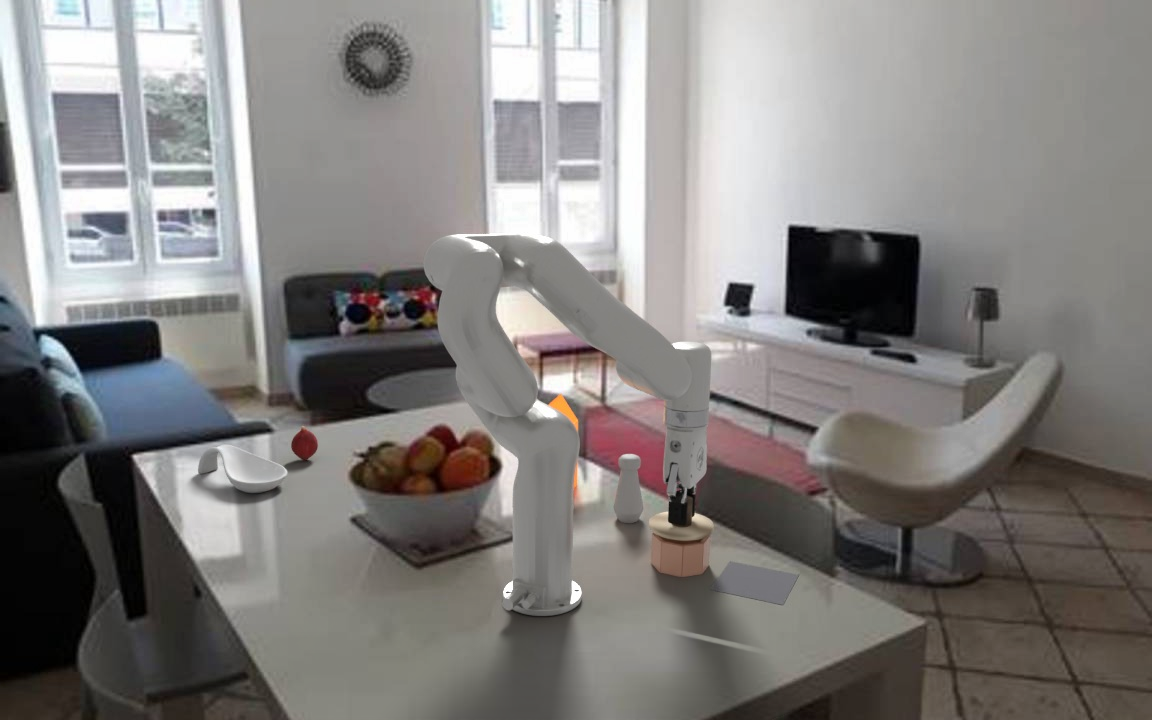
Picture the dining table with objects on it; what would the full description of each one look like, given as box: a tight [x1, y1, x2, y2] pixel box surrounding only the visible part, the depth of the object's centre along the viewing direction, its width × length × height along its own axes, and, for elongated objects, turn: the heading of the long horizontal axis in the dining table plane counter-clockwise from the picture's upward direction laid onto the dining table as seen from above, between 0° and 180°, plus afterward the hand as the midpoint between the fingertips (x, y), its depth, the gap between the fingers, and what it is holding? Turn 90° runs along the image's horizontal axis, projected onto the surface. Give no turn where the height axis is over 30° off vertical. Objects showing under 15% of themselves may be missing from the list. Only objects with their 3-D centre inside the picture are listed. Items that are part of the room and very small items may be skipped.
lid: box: [648, 495, 715, 541], centre depth 161 cm, size 11×11×5 cm
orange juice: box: [548, 393, 579, 489], centre depth 197 cm, size 8×9×20 cm
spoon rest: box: [197, 443, 288, 494], centre depth 200 cm, size 24×12×7 cm, turn 56°
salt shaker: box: [613, 453, 645, 524], centre depth 182 cm, size 6×6×13 cm
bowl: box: [650, 532, 711, 578], centre depth 162 cm, size 9×9×6 cm
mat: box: [709, 560, 800, 606], centre depth 156 cm, size 12×12×1 cm
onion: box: [290, 425, 319, 461], centre depth 214 cm, size 6×6×8 cm
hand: (681, 518), depth 161 cm, fingers closed on lid, 3 cm apart
